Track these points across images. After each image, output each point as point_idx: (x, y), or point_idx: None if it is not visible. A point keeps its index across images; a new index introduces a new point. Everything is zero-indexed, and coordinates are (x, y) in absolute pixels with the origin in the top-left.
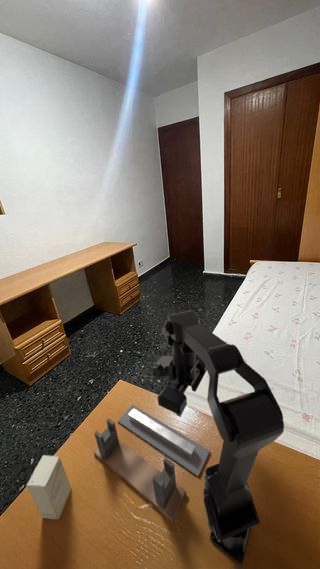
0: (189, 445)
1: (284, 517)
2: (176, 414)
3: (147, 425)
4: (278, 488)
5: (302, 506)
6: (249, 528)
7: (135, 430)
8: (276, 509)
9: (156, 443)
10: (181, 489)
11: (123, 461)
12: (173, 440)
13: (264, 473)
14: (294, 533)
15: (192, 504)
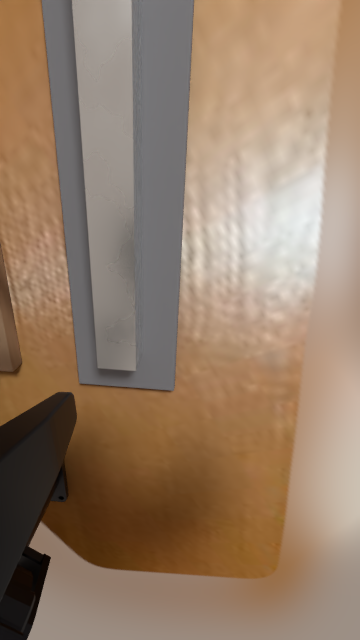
0: (124, 349)
1: (128, 538)
2: (48, 399)
3: (82, 80)
4: (177, 530)
5: (167, 559)
6: (60, 499)
7: (54, 4)
8: (133, 527)
9: (74, 185)
10: (4, 360)
11: None
12: (102, 278)
13: (195, 508)
14: (113, 549)
15: (14, 386)
